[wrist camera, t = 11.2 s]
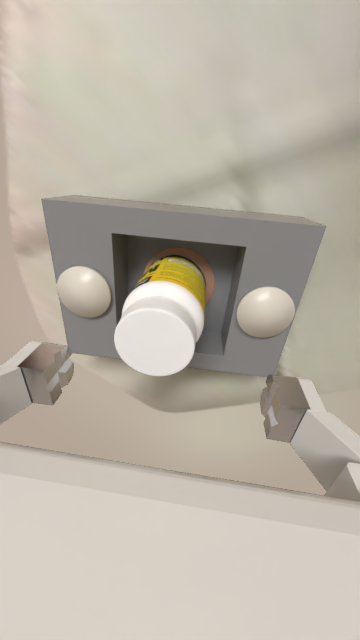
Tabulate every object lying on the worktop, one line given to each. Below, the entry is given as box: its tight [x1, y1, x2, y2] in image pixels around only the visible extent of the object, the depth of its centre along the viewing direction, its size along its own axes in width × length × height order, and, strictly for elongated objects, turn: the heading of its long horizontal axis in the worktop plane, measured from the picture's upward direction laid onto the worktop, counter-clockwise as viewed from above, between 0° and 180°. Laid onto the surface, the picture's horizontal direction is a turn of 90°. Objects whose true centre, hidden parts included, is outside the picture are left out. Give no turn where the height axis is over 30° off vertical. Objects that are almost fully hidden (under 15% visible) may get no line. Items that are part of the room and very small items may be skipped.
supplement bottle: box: [114, 254, 206, 376], centre depth 15 cm, size 5×5×8 cm
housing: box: [41, 195, 326, 377], centre depth 18 cm, size 16×11×4 cm
